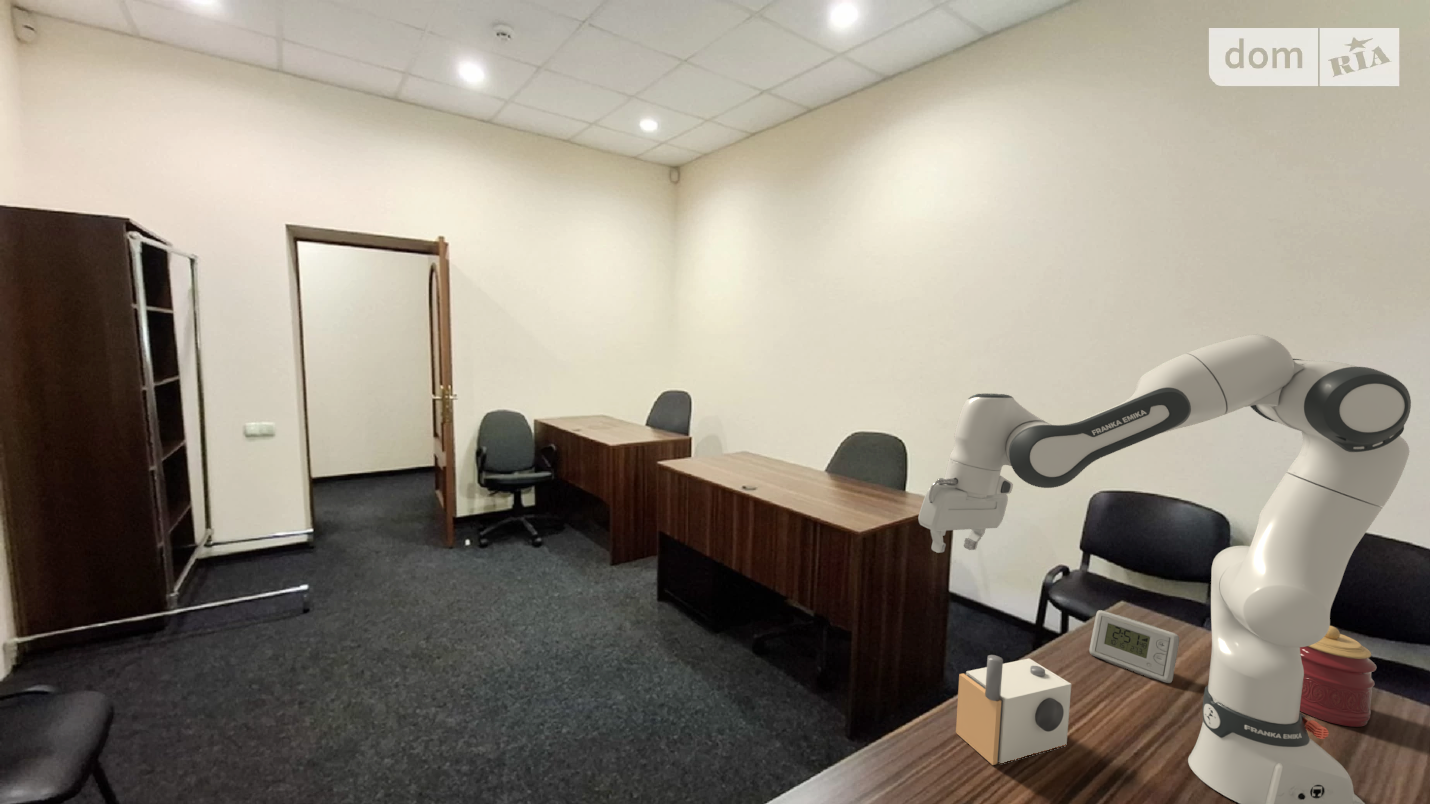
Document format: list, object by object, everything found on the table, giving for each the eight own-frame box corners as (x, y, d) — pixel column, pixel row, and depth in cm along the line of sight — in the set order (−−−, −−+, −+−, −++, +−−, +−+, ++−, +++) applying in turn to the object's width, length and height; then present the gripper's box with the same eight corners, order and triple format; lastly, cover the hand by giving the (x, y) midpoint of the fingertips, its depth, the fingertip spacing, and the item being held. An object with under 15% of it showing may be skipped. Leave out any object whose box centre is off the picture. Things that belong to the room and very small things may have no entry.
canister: (1354, 703, 118) (1364, 622, 117) (1381, 737, 107) (1393, 649, 106) (1269, 682, 125) (1278, 606, 124) (1287, 712, 114) (1296, 629, 113)
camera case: (1025, 715, 112) (1029, 654, 111) (1071, 749, 102) (1076, 682, 101) (960, 731, 107) (964, 667, 105) (1003, 769, 97) (1008, 698, 96)
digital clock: (1084, 654, 136) (1087, 612, 135) (1105, 645, 140) (1108, 604, 139) (1162, 690, 122) (1166, 643, 121) (1183, 679, 126) (1187, 634, 125)
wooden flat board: (963, 730, 107) (968, 637, 105) (1000, 763, 98) (1007, 661, 97) (952, 733, 106) (958, 639, 104) (989, 766, 97) (996, 663, 96)
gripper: (949, 483, 95) (931, 560, 96) (1018, 485, 105) (1001, 554, 107) (919, 472, 100) (902, 545, 102) (988, 474, 110) (972, 541, 112)
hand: (953, 550), depth 104 cm, fingers open, 8 cm apart
